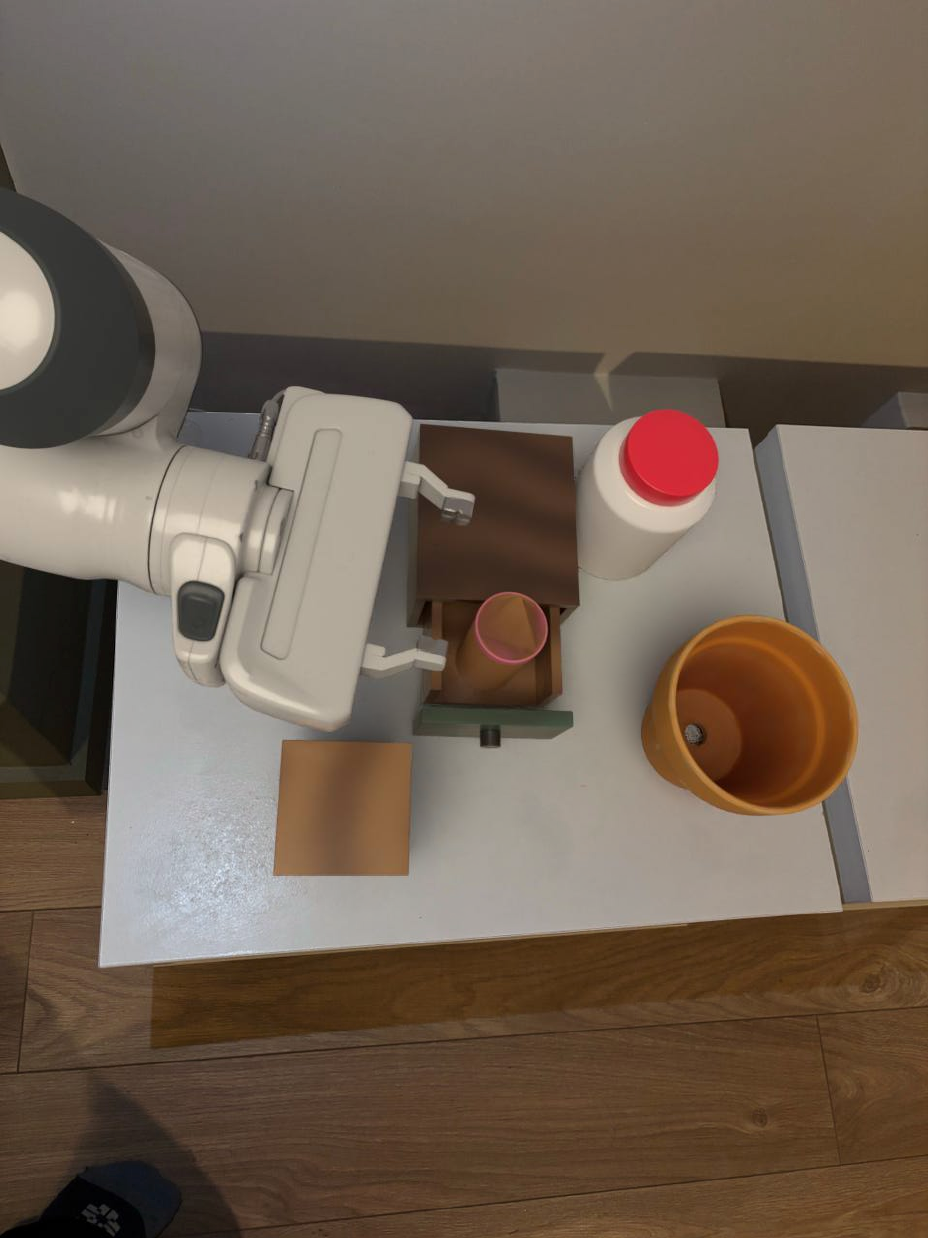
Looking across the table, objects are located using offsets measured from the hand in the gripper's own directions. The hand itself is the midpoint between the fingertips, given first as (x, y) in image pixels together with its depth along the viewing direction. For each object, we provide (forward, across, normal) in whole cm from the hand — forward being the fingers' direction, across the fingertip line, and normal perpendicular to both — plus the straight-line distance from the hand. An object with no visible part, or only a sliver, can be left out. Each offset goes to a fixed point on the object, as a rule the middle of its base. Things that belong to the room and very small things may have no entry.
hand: (459, 581), depth 48 cm
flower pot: (+24, +2, -20) cm, 31 cm away
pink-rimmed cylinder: (+5, -1, -18) cm, 19 cm away
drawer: (+5, -1, -19) cm, 20 cm away
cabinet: (+3, -11, -20) cm, 23 cm away
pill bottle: (+14, -16, -20) cm, 29 cm away
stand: (-4, +14, -20) cm, 24 cm away
